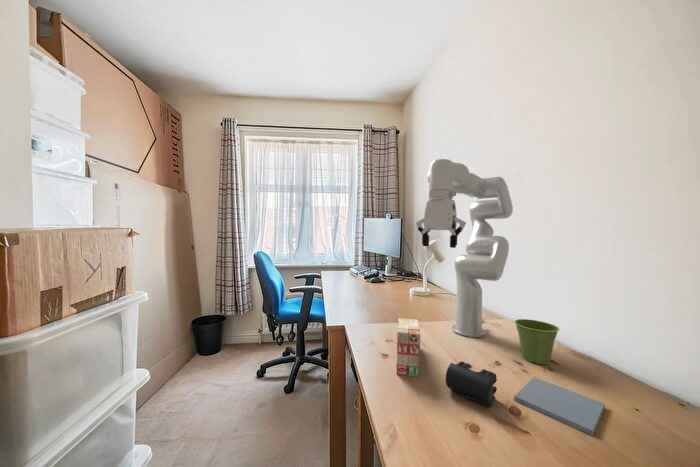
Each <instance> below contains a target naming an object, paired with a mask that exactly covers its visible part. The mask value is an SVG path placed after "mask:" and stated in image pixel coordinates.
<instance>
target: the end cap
mask: <svg viewBox="0 0 700 467" xmlns="http://www.w3.org/2000/svg"><path fill="white" fill-rule="evenodd" d="M471 367H472V365H471V364H470V363H468V362H464V361H462V360H461V361H459V362H457V363H453V362H450V363H449V365H448V367H447V369H446V373H445V385H446V387H447V388H448V389H450V390H451V391H452V392H454V393H457V394H459V395H461V396H464V397H466V398H469V399H470V400H473V401H475V402H478V403H480V404H481V405H484V406H486V407H492V406H493V404H494V403H495V401H496V396H495V394H496V393H497V390H498V388H497V386H495V384H496V382H497V381H498V378H497V374H496V373H495V372H492V371H489V370H486V369H484V368H483V369H481V371H475V370H472V369H470V368H471Z"/></svg>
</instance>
